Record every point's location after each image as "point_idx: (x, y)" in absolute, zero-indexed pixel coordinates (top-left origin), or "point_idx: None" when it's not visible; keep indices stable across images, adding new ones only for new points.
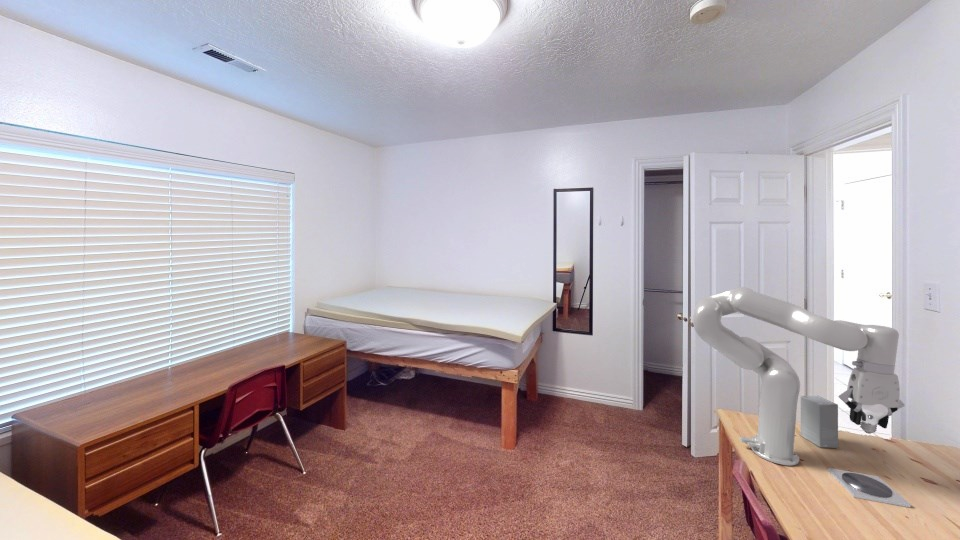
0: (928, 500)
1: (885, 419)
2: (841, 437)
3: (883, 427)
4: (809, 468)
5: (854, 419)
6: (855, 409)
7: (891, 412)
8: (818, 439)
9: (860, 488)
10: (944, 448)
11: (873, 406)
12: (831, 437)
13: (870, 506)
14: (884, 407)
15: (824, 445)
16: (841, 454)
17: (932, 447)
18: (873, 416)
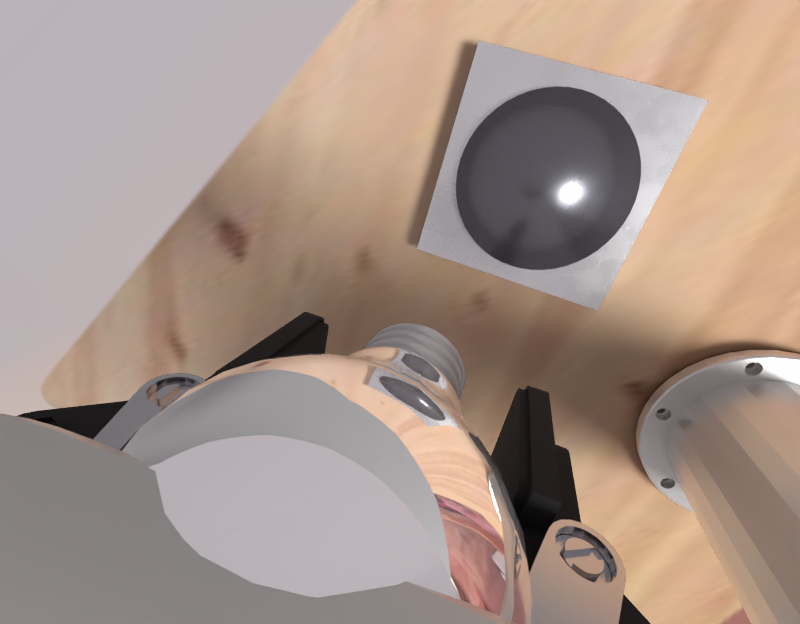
0: (346, 111)
1: (270, 357)
2: None
3: (325, 323)
4: (671, 327)
5: (557, 449)
6: (594, 573)
7: (133, 397)
8: None
9: (621, 143)
10: (50, 394)
11: (412, 543)
12: None
13: (690, 28)
14: (195, 454)
15: None
16: None
17: (76, 402)
18: (428, 390)
